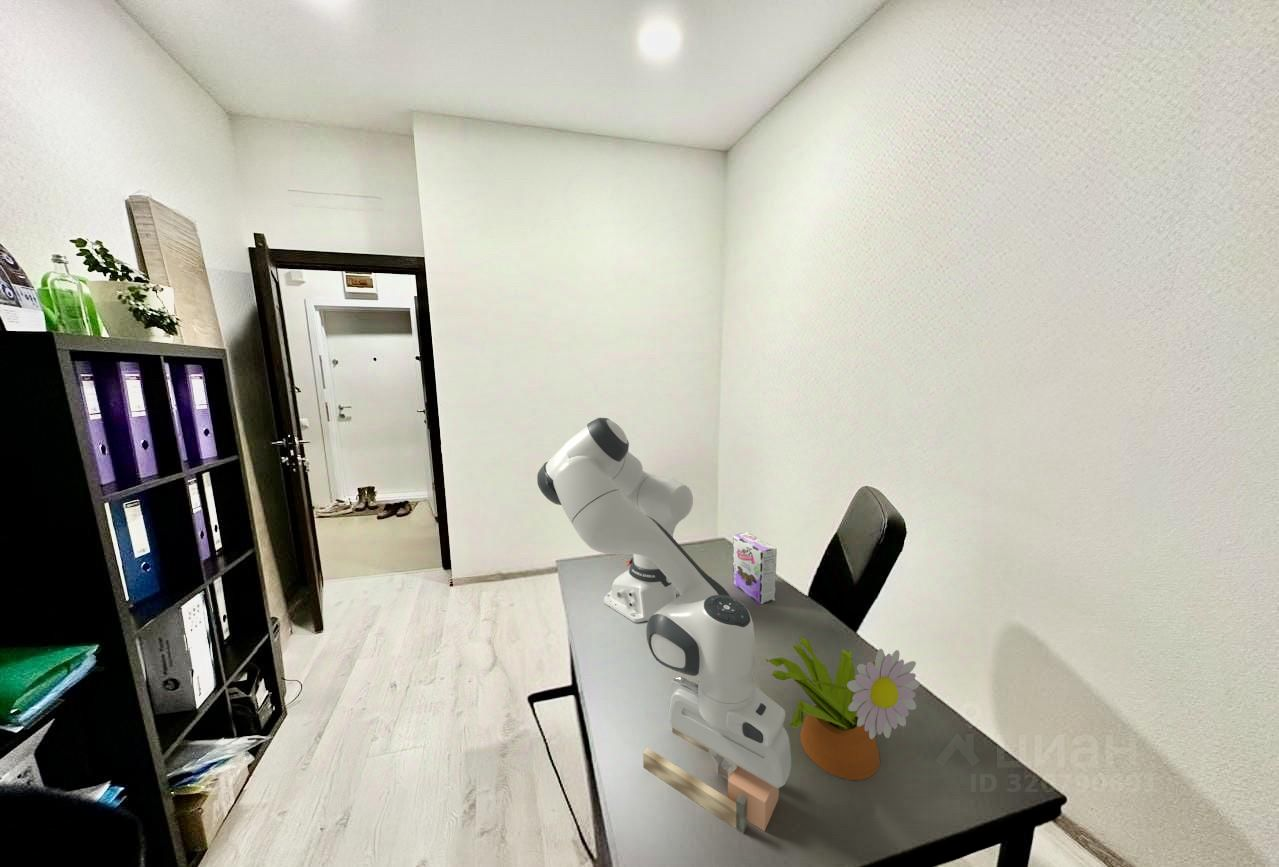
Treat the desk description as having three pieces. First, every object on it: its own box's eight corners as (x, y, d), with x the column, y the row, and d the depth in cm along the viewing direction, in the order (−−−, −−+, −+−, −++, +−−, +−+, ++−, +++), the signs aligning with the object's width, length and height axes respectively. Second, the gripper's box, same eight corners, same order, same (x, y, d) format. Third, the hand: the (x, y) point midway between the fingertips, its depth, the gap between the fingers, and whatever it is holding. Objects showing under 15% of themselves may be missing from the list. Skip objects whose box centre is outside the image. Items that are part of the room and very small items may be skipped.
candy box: (731, 583, 139) (732, 534, 136) (747, 579, 141) (747, 531, 139) (760, 605, 126) (760, 551, 124) (776, 600, 129) (777, 547, 126)
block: (727, 808, 69) (727, 780, 68) (743, 779, 74) (743, 753, 73) (764, 831, 66) (765, 802, 65) (778, 799, 70) (779, 772, 70)
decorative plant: (821, 827, 66) (828, 677, 62) (741, 708, 89) (742, 594, 85) (957, 776, 73) (971, 639, 70) (851, 679, 96) (856, 572, 92)
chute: (643, 767, 77) (642, 742, 76) (675, 727, 85) (675, 704, 84) (743, 833, 65) (743, 804, 65) (769, 780, 74) (770, 754, 73)
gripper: (660, 683, 74) (662, 755, 76) (781, 744, 61) (778, 828, 64) (680, 662, 79) (681, 730, 81) (796, 715, 66) (793, 794, 68)
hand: (725, 774), depth 72 cm, fingers closed
